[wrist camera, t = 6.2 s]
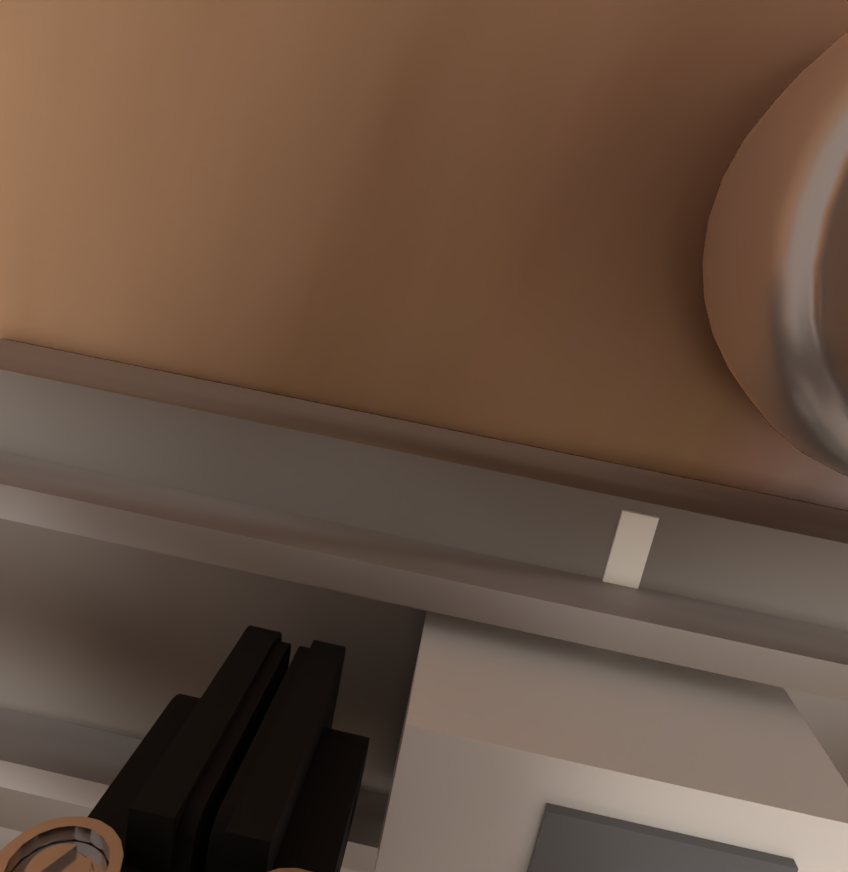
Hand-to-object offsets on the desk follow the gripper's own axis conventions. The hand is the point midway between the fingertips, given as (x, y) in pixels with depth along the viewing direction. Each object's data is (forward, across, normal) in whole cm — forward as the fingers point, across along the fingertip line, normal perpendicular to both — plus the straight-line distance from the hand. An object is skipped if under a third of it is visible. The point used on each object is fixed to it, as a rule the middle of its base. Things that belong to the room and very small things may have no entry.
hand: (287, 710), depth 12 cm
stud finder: (+1, -5, 0) cm, 5 cm away
